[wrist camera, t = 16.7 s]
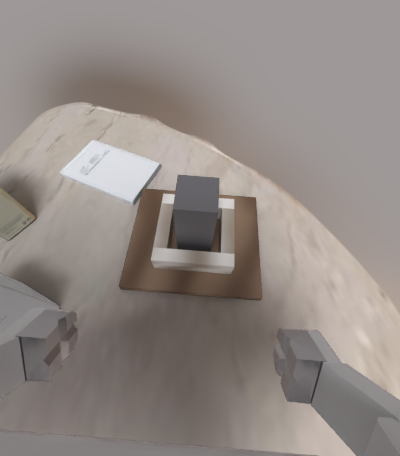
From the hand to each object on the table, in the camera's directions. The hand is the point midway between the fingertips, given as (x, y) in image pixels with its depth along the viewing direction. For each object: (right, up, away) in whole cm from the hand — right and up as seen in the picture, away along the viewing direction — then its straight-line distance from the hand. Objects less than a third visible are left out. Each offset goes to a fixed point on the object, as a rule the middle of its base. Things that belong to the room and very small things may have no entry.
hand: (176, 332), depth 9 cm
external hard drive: (-12, +12, +27) cm, 32 cm away
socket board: (0, +3, +21) cm, 21 cm away
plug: (0, +3, +20) cm, 20 cm away
